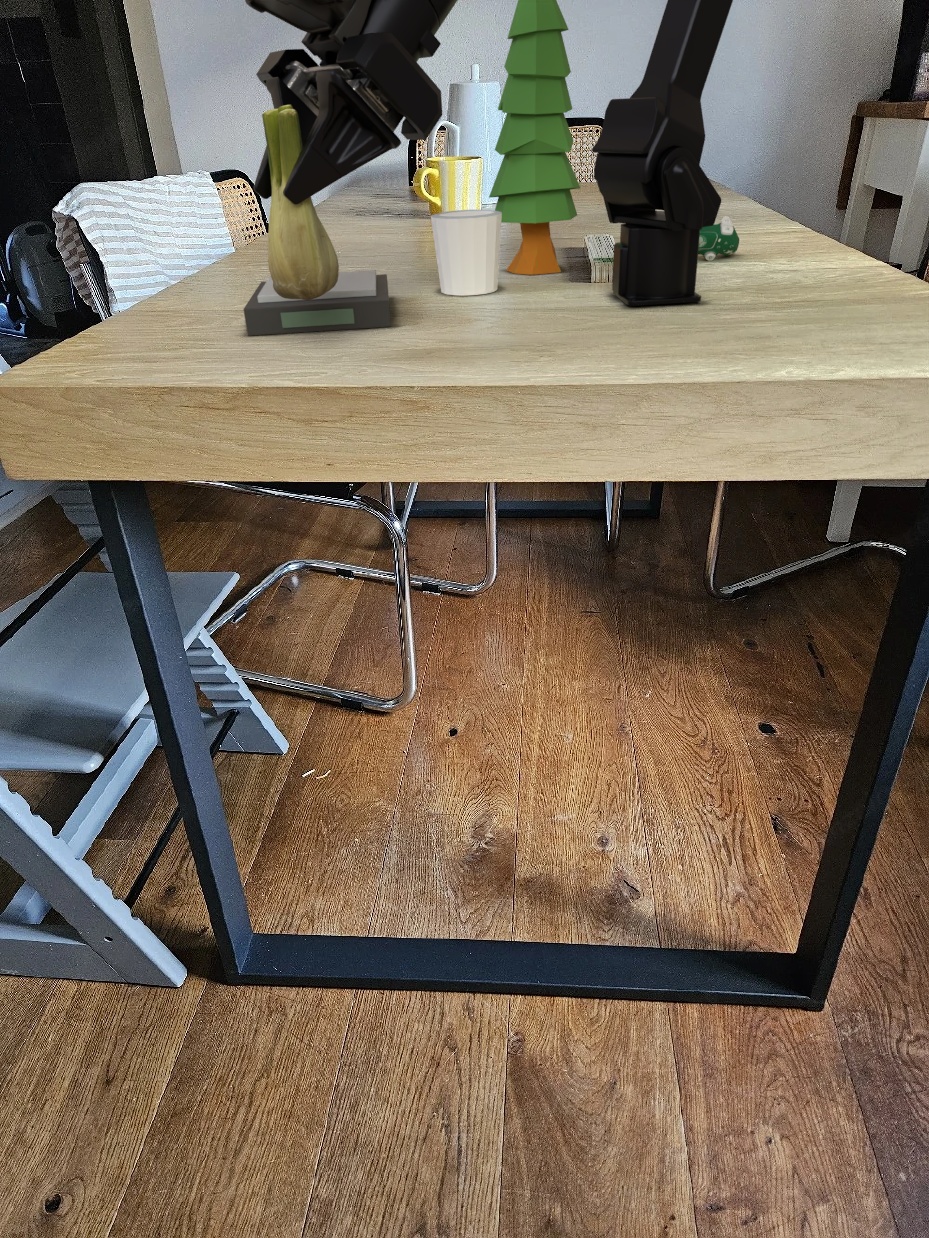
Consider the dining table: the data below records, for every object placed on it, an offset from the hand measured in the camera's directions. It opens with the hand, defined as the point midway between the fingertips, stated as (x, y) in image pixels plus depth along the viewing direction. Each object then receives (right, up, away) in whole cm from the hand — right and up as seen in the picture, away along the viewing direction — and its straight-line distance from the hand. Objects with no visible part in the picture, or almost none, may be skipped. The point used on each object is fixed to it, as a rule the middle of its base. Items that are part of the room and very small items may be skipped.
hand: (273, 197), depth 60 cm
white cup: (+14, +4, +28) cm, 31 cm away
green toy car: (+39, +11, +38) cm, 55 cm away
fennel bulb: (+2, -6, +4) cm, 7 cm away
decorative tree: (+21, +9, +37) cm, 43 cm away
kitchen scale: (0, -1, +20) cm, 20 cm away
